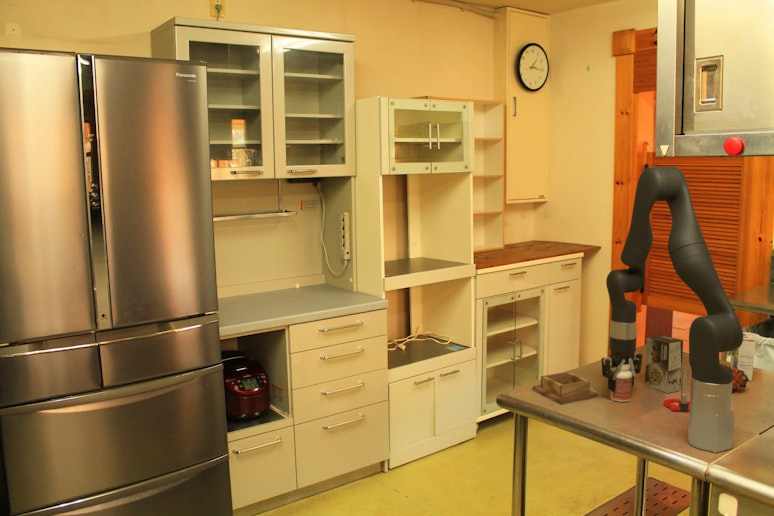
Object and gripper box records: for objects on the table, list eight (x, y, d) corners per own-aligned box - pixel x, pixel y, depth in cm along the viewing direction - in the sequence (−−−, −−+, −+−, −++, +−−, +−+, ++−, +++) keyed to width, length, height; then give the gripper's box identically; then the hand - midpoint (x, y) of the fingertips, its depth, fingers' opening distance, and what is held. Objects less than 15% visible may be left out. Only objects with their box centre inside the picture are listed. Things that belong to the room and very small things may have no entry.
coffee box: (681, 390, 205) (684, 340, 202) (667, 393, 202) (669, 343, 199) (658, 382, 213) (660, 333, 210) (643, 385, 210) (646, 336, 208)
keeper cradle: (598, 397, 200) (598, 382, 199) (560, 404, 194) (561, 389, 193) (568, 383, 212) (568, 369, 212) (532, 390, 207) (532, 375, 206)
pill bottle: (635, 401, 196) (637, 365, 194) (618, 403, 194) (620, 367, 192) (622, 394, 202) (623, 359, 200) (605, 397, 200) (606, 361, 198)
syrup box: (729, 374, 219) (731, 332, 217) (748, 376, 217) (751, 333, 215) (733, 380, 213) (735, 336, 211) (753, 381, 212) (756, 337, 210)
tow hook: (660, 401, 197) (668, 412, 187) (661, 359, 195) (670, 367, 186) (689, 403, 195) (699, 413, 186) (691, 360, 194) (701, 369, 185)
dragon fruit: (751, 398, 201) (707, 398, 206) (748, 376, 207) (706, 376, 212) (749, 382, 196) (705, 382, 201) (747, 359, 202) (703, 360, 207)
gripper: (612, 341, 189) (611, 396, 191) (650, 335, 194) (648, 389, 197) (595, 335, 196) (593, 388, 198) (632, 329, 201) (630, 382, 204)
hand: (620, 389), depth 197 cm, fingers closed on pill bottle, 6 cm apart
